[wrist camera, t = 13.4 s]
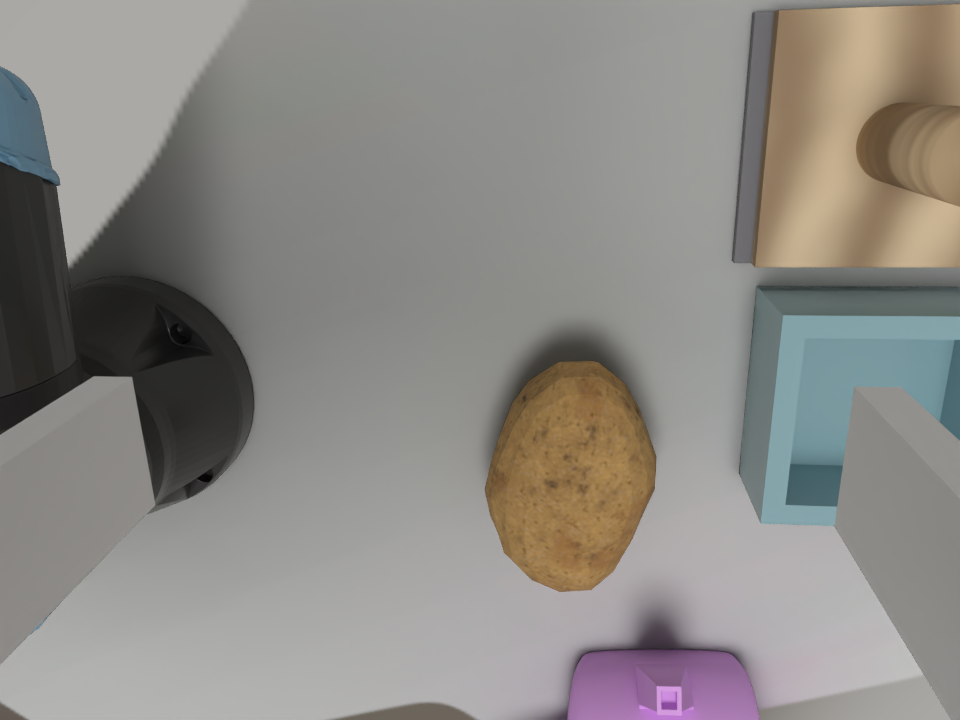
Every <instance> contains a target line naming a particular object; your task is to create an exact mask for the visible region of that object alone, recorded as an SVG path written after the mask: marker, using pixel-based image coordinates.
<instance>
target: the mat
mask: <svg viewBox="0 0 960 720" xmlns="http://www.w3.org/2000/svg"><path fill="white" fill-rule="evenodd" d="M774 12H775V11H774ZM774 12H754V13H753V16H752V28H751V40H750V52H749V64H748V76H747V88H746V100H745V112H744V124H743V136H742V148H741V160H740V172H739V184H738V196H737V208H736V219H735V231H734V243H733V255H732V261H733V262H734V263H751V261H752V250H753V239H754V228H755V217H756V206H757V195H758V185H759V174H760V163H761V152H762V141H763V130H764V119H765V109H766V98H767V87H768V76H769V65H770V54H771V43H772V33H773V22H774Z"/></svg>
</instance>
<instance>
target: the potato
mask: <svg viewBox="0 0 960 720" xmlns="http://www.w3.org/2000/svg"><path fill="white" fill-rule="evenodd" d="M655 475H656V454H655V451H654V448H653V446H652V443H651V440H650V437H649V434H648V431H647V429H646V426H645V423H644V420H643V418H642V415H641V412H640V409H639V407H638V405H637V403H636V402H635V400H634V398H633V397H632V395H631V393H630V391H629V390H628V388H627V386H626V385H625V383H624V382H623V381H621V380H620V379H619V378H618V377H616V376H615V375H614V374H612V373H611V372H610V371H609V370H607V369H606V368H605V367H604V366H602V365H601V364H600V363H598V362H594V361H569V362H558V363H556V364H554V365H553V366H551V367H550V368H548V369H547V370H545V371H543V372H542V373H540V374H539V375H537V376H535V377H534V378H532V379H531V380H529V381H528V382H527V384H526V385H525V386H524V388H523V389H522V391H521V392H520V393H519V395H518V396H517V397H516V399H515V400H514V401H513V403H512V405H511V407H510V410H509V412H508V415H507V418H506V420H505V423H504V425H503V428H502V431H501V434H500V436H499V439H498V442H497V445H496V448H495V452H494V455H493V458H492V462H491V465H490V469H489V473H488V478H487V482H486V486H485V493H486V498H487V502H488V507H489V512H490V516H491V518H492V520H493V523H494V525H495V527H496V529H497V532H498V534H499V538H500V541H501V544H502V547H503V550H504V553H505V554H506V555H507V556H508V557H509V558H510V559H511V560H512V561H513V562H514V563H515V564H516V565H517V566H518V567H519V568H520V569H521V570H522V571H523V572H524V573H525V574H526V575H527V576H528V577H529V578H530V579H531V580H533V581H536V582H538V583H540V584H543V585H545V586H547V587H550V588H552V589H554V590H557V591H559V592H565V591H582V590H592V589H593V588H594V587H595V586H596V585H598V584H599V583H600V582H601V581H602V580H604V579H605V578H606V577H607V576H608V575H610V574H611V573H612V572H613V571H614V569H615V568H616V566H617V564H618V562H619V561H620V559H621V557H622V556H623V554H624V552H625V550H626V549H627V547H628V545H629V544H630V542H631V540H632V538H633V536H634V534H635V531H636V529H637V527H638V524H639V522H640V519H641V517H642V515H643V513H644V510H645V508H646V506H647V504H648V502H649V500H650V498H651V496H652V494H653V492H654V490H655Z"/></svg>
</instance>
